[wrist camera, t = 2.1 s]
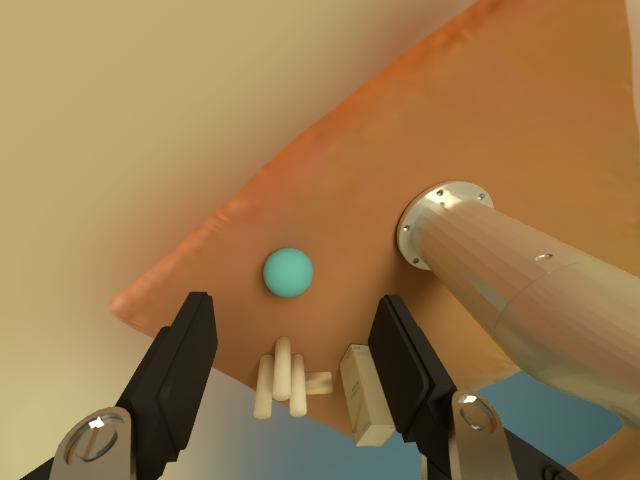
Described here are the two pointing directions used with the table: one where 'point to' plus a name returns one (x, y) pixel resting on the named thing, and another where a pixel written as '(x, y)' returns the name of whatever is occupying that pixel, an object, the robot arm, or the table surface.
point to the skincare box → (365, 398)
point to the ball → (288, 272)
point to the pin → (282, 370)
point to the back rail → (317, 383)
